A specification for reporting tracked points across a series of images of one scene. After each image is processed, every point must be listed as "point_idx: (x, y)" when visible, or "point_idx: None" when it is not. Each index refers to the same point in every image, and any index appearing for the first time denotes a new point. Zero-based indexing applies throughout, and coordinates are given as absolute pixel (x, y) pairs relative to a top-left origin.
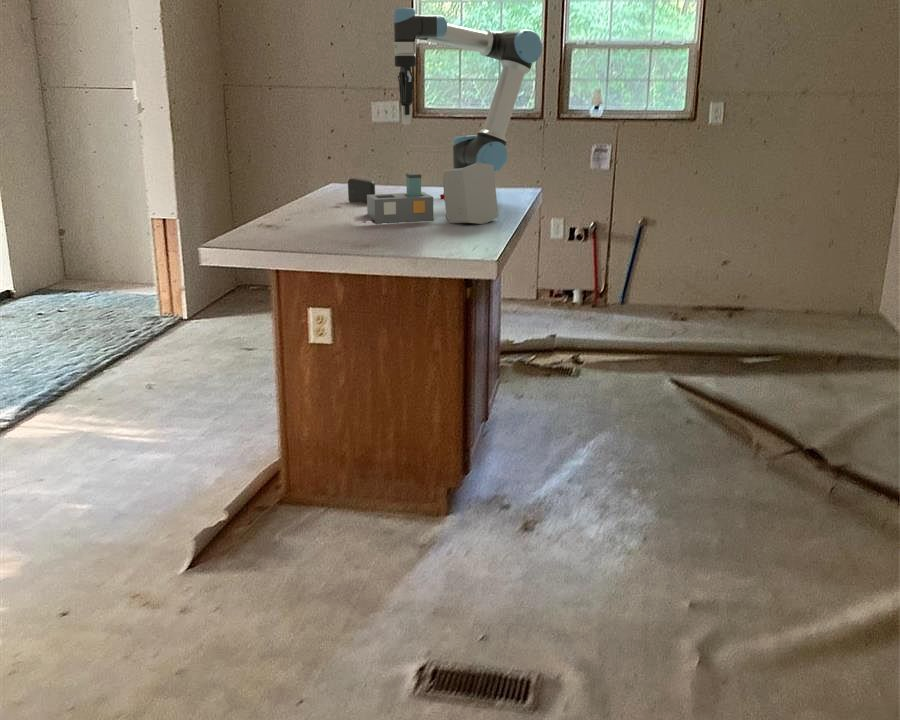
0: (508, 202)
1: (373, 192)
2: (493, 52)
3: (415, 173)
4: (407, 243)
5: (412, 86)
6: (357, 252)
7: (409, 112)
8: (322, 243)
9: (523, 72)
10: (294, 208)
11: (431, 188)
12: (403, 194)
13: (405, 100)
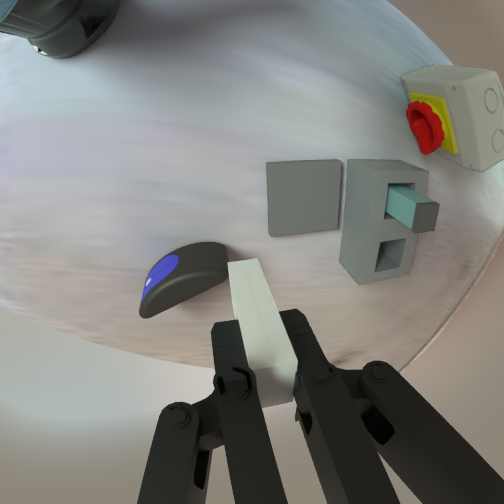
0: None
1: (228, 261)
2: None
3: (421, 212)
4: (476, 230)
5: (491, 471)
6: (474, 274)
7: (306, 320)
8: (438, 303)
9: None
10: (202, 358)
11: None
12: (383, 219)
13: (382, 414)
